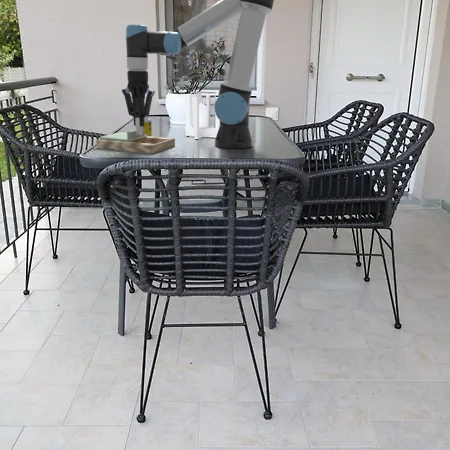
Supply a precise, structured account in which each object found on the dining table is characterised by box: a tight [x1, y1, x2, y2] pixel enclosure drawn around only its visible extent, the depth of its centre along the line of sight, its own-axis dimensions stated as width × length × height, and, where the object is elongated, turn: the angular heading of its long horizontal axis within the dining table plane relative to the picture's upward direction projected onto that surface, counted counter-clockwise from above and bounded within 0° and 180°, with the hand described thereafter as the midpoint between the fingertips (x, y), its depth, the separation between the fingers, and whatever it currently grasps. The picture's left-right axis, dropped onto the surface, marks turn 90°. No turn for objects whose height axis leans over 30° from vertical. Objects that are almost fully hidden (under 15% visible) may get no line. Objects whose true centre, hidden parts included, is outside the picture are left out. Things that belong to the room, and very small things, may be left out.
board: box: [95, 135, 176, 155], centre depth 185 cm, size 24×18×3 cm
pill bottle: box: [143, 116, 153, 137], centre depth 199 cm, size 6×6×12 cm
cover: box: [99, 129, 147, 142], centre depth 185 cm, size 13×14×3 cm
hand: (139, 134), depth 183 cm, fingers closed
